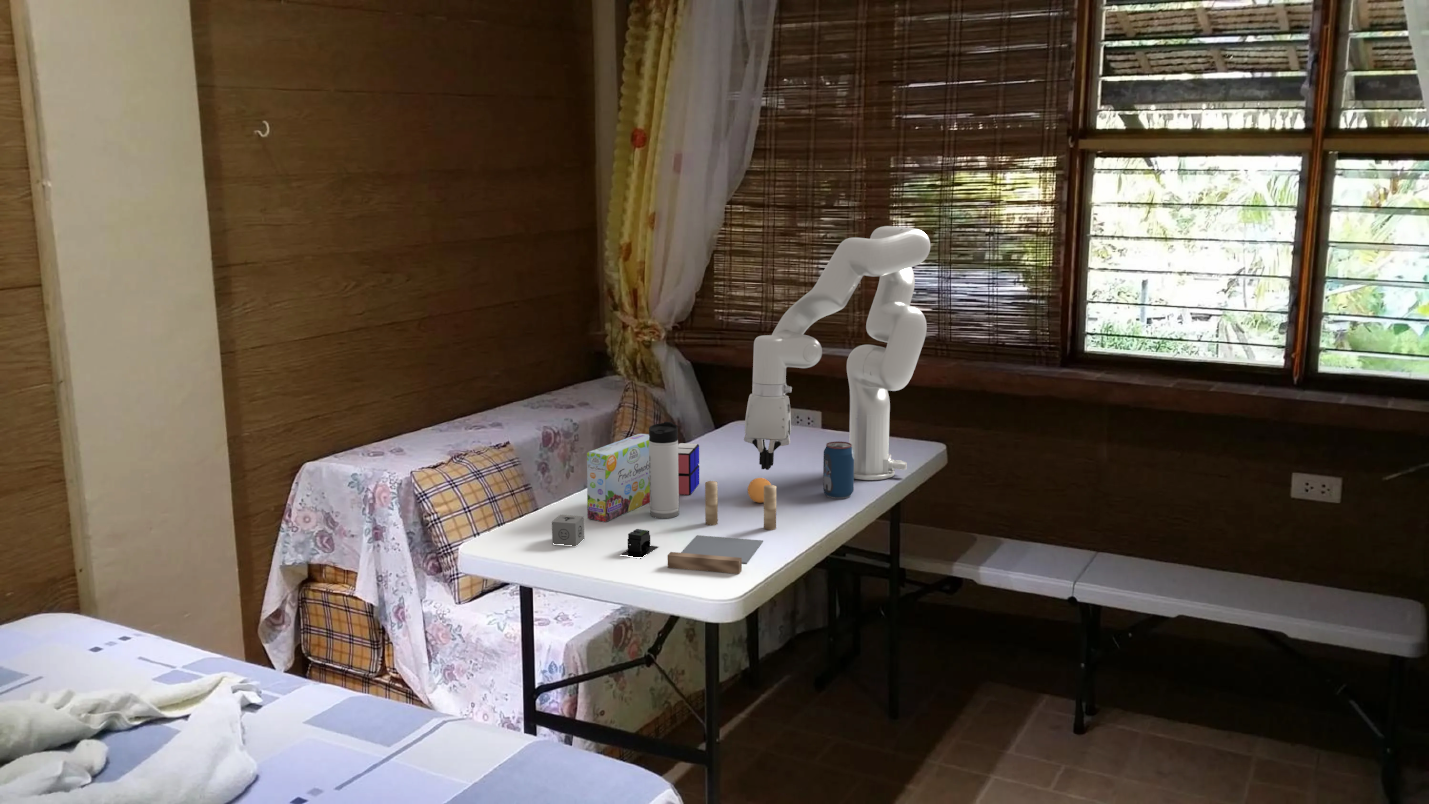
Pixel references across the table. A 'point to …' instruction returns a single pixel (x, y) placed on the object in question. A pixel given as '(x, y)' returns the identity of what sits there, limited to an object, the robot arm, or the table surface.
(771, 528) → the post near
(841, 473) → the soda can
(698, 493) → the table surface
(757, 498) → the ball
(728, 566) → the stopper wall
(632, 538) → the black boxy piece
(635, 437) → the snack box
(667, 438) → the travel mug
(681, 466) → the puzzle cube
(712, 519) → the post far
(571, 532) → the dice cube
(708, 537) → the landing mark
